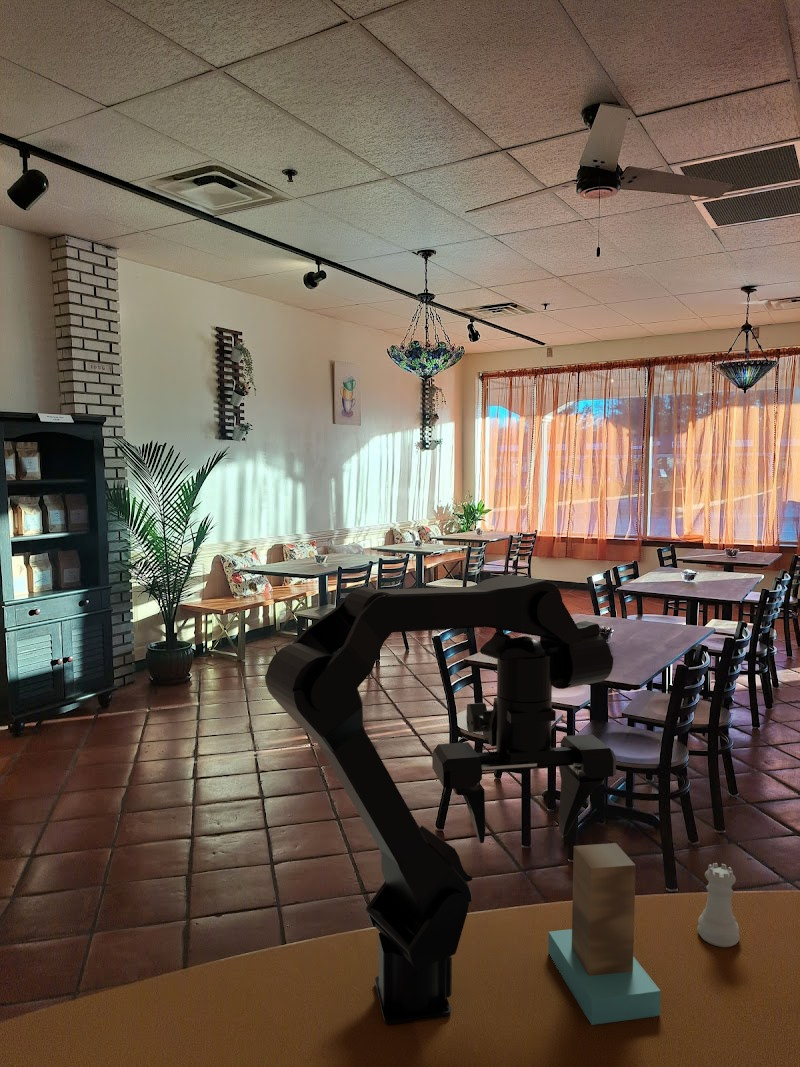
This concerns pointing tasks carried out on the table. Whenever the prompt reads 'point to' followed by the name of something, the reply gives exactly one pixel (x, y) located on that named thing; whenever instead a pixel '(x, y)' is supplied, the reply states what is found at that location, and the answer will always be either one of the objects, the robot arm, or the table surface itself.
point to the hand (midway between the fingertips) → (522, 837)
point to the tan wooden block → (603, 908)
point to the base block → (604, 986)
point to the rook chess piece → (719, 909)
